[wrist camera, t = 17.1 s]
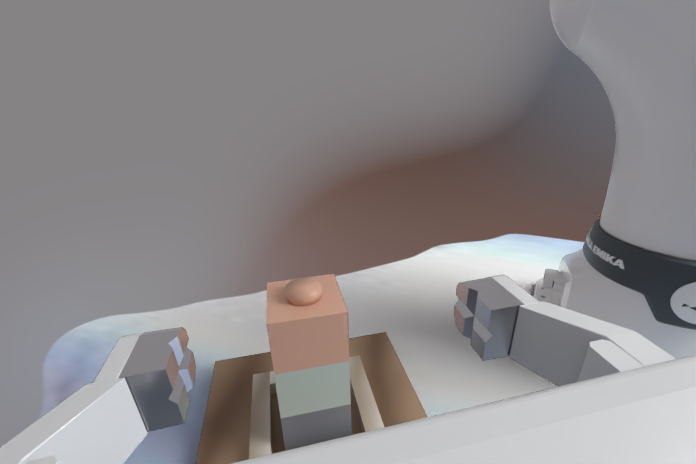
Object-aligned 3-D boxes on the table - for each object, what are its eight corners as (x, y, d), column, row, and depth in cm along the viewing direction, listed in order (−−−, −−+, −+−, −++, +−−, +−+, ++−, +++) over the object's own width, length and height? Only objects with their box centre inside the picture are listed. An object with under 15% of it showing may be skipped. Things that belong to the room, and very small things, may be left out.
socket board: (385, 342, 38) (385, 323, 37) (472, 527, 22) (477, 502, 21) (217, 372, 35) (213, 351, 34) (175, 616, 19) (163, 591, 18)
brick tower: (339, 390, 31) (333, 264, 26) (352, 441, 26) (347, 301, 21) (283, 401, 30) (265, 273, 25) (286, 456, 25) (265, 313, 20)
